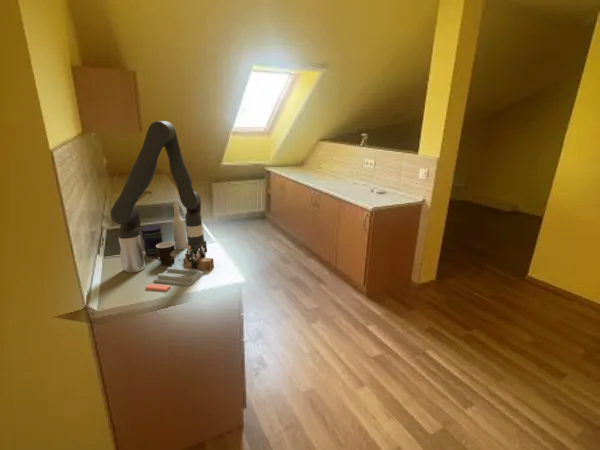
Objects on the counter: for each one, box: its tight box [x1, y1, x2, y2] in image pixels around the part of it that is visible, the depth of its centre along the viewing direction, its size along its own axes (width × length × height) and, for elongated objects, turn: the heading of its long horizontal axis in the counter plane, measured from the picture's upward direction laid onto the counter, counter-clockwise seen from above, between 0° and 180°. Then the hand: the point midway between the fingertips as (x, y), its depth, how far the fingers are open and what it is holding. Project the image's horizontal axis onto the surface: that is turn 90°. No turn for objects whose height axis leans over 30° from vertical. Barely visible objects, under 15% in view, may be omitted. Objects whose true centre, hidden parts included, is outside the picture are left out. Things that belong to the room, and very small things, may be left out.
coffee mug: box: [154, 241, 176, 267], centre depth 164 cm, size 12×9×10 cm
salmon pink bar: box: [145, 283, 172, 292], centre depth 141 cm, size 10×3×2 cm, turn 79°
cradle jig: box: [153, 266, 205, 287], centre depth 150 cm, size 18×12×3 cm, turn 76°
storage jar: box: [140, 224, 164, 258], centre depth 176 cm, size 10×10×15 cm
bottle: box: [171, 198, 188, 250], centre depth 183 cm, size 7×7×28 cm
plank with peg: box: [182, 253, 215, 272], centre depth 160 cm, size 14×4×7 cm, turn 76°
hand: (198, 265), depth 160 cm, fingers open, 7 cm apart
